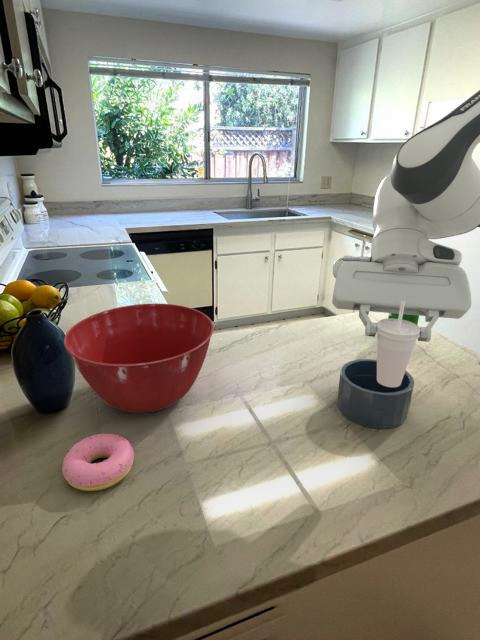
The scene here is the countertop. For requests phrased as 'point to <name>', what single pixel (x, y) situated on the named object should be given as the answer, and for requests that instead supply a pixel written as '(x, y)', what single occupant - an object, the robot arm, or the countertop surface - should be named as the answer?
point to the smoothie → (394, 348)
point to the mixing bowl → (141, 354)
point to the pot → (372, 396)
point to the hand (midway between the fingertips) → (397, 337)
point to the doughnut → (98, 474)
